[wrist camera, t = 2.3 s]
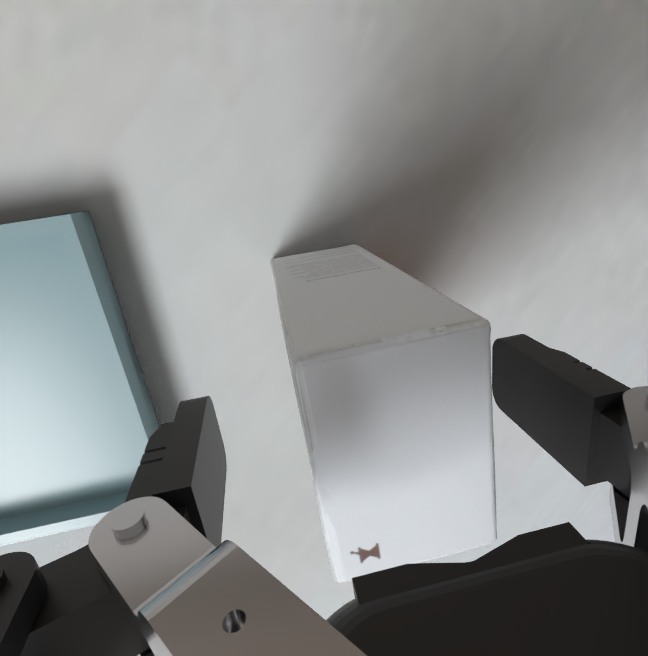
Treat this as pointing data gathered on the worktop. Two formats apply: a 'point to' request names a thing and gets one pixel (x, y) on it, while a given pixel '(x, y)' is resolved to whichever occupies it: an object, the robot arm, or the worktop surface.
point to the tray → (64, 382)
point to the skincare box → (389, 409)
